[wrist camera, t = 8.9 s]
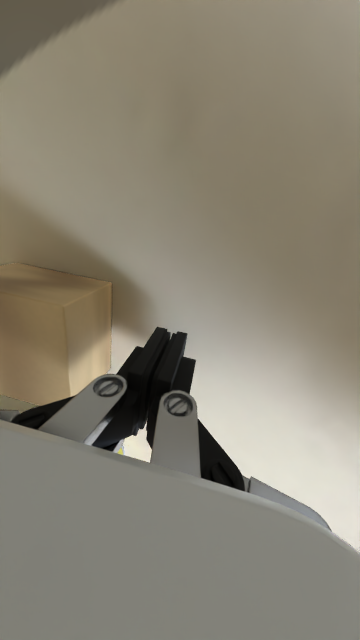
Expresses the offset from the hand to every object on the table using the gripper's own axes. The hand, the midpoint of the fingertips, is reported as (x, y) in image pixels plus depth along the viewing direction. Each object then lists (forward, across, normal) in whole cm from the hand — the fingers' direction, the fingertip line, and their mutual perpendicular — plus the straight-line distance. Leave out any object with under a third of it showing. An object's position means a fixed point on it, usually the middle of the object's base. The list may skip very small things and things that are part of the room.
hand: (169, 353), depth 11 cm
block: (+1, +7, 0) cm, 7 cm away
